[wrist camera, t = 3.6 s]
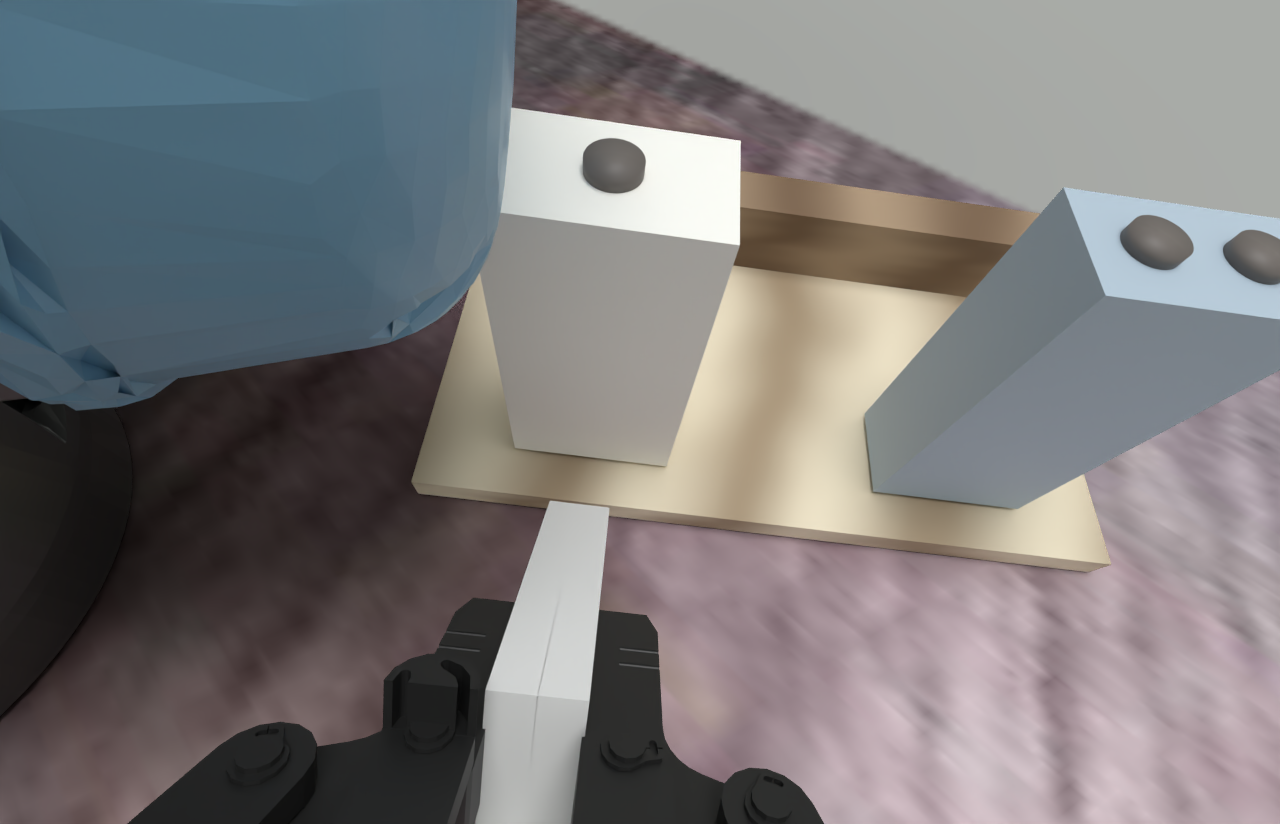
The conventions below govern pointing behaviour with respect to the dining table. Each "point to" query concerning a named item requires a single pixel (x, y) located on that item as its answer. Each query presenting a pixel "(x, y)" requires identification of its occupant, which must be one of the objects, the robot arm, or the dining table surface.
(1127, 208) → the tile two
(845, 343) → the holder
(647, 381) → the tile one
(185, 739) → the dining table surface
